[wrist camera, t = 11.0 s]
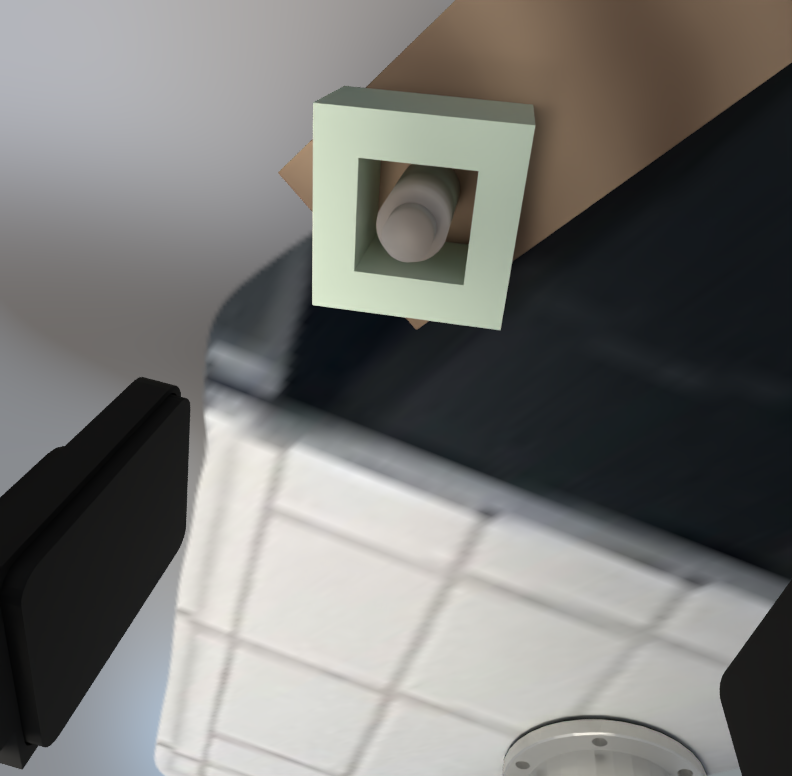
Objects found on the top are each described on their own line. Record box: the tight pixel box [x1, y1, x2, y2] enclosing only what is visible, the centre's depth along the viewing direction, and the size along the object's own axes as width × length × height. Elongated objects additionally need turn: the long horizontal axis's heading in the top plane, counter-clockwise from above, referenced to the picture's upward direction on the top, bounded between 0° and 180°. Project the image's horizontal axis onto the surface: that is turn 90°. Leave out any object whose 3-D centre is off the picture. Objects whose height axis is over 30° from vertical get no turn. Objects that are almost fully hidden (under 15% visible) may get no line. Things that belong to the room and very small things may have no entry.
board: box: [278, 0, 792, 330], centre depth 18 cm, size 23×8×8 cm, turn 131°
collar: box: [312, 86, 535, 330], centre depth 22 cm, size 6×6×4 cm
